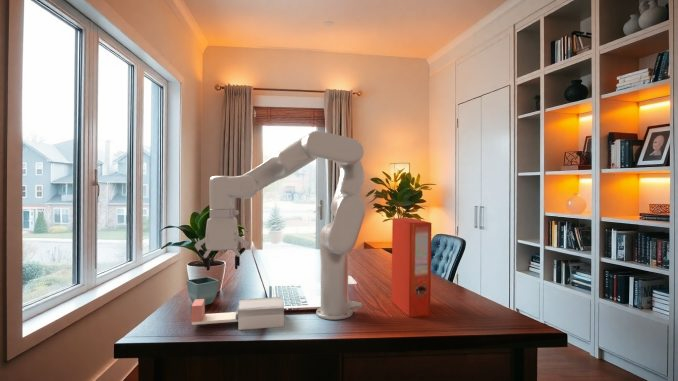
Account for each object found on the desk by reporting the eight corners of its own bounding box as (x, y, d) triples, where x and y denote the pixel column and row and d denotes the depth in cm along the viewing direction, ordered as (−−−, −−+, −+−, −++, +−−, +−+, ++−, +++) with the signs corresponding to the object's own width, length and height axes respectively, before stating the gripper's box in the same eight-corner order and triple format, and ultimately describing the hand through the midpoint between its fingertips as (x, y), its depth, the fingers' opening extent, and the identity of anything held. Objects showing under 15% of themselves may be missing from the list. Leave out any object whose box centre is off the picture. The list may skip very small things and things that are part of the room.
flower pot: (219, 303, 148) (219, 280, 148) (197, 309, 142) (197, 284, 142) (207, 299, 154) (207, 276, 154) (186, 304, 148) (185, 280, 148)
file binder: (411, 300, 152) (411, 217, 151) (431, 315, 135) (431, 222, 134) (391, 302, 150) (391, 218, 149) (408, 317, 133) (409, 222, 133)
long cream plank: (275, 311, 134) (275, 294, 134) (277, 318, 127) (277, 300, 127) (195, 317, 128) (194, 299, 128) (191, 324, 121) (191, 306, 121)
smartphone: (341, 284, 176) (335, 276, 190) (341, 285, 176) (335, 277, 190) (357, 283, 177) (350, 275, 192) (357, 285, 177) (350, 277, 192)
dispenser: (281, 314, 137) (281, 296, 136) (284, 326, 125) (283, 307, 125) (236, 317, 133) (236, 299, 133) (235, 330, 122) (235, 310, 122)
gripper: (249, 213, 131) (250, 265, 132) (194, 214, 128) (195, 267, 128) (249, 214, 124) (250, 270, 124) (191, 216, 120) (192, 273, 121)
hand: (222, 268), depth 126 cm, fingers open, 8 cm apart
